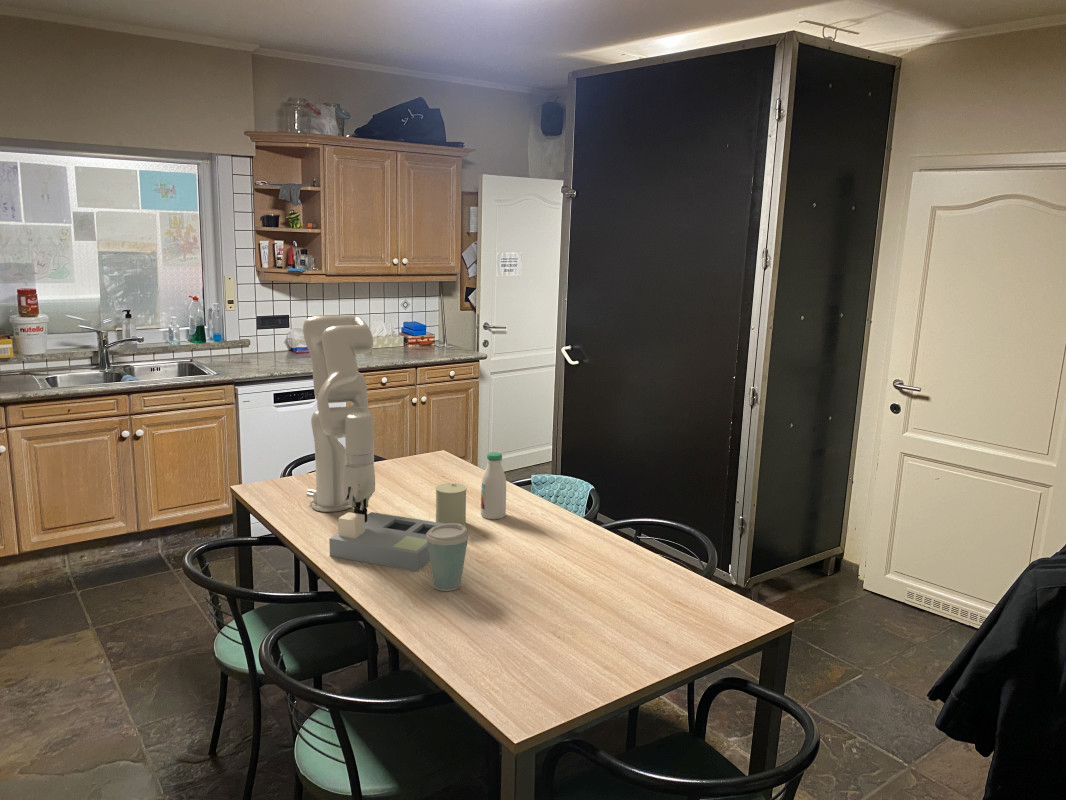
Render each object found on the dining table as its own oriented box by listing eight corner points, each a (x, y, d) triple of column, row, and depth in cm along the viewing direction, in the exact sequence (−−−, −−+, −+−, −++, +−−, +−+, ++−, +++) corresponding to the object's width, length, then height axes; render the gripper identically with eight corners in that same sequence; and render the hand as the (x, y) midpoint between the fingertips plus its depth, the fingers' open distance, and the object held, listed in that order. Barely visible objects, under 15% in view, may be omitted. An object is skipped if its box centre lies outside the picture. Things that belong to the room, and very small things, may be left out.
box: (329, 556, 208) (329, 538, 207) (371, 528, 229) (371, 512, 227) (417, 571, 200) (417, 553, 199) (452, 541, 221) (452, 524, 220)
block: (338, 535, 209) (338, 518, 208) (348, 529, 214) (348, 512, 213) (355, 538, 208) (354, 520, 206) (364, 532, 212) (364, 514, 211)
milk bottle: (509, 514, 244) (511, 452, 240) (498, 521, 237) (500, 458, 233) (488, 509, 247) (489, 449, 243) (476, 517, 240) (477, 454, 236)
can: (468, 520, 238) (469, 482, 235) (463, 531, 229) (463, 492, 226) (439, 518, 239) (439, 480, 236) (432, 528, 230) (432, 490, 227)
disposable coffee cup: (433, 598, 186) (434, 539, 183) (418, 580, 195) (419, 524, 192) (474, 590, 191) (475, 533, 188) (458, 573, 200) (458, 518, 197)
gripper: (361, 450, 219) (362, 511, 223) (332, 463, 205) (334, 529, 209) (385, 453, 217) (386, 515, 221) (357, 467, 203) (358, 533, 207)
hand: (360, 522), depth 215 cm, fingers closed
